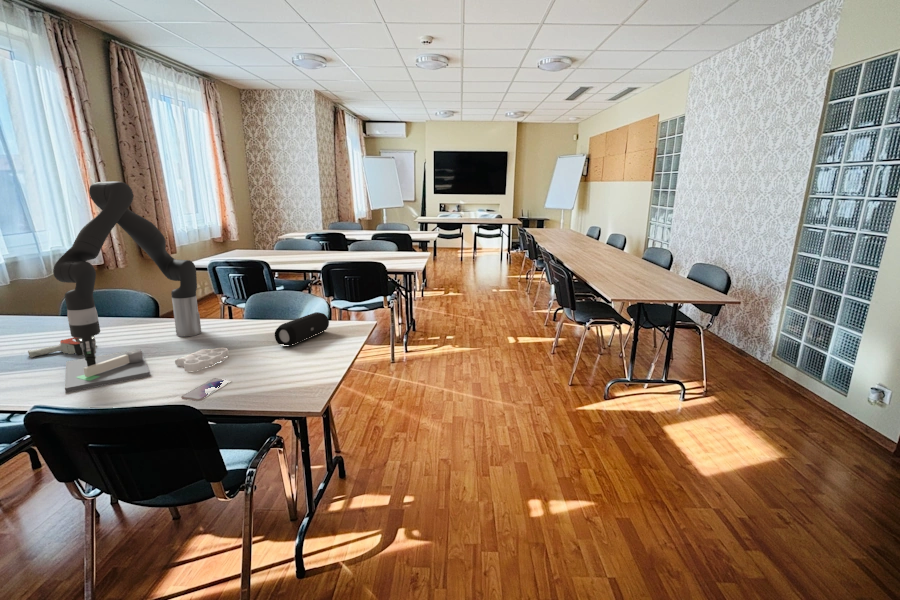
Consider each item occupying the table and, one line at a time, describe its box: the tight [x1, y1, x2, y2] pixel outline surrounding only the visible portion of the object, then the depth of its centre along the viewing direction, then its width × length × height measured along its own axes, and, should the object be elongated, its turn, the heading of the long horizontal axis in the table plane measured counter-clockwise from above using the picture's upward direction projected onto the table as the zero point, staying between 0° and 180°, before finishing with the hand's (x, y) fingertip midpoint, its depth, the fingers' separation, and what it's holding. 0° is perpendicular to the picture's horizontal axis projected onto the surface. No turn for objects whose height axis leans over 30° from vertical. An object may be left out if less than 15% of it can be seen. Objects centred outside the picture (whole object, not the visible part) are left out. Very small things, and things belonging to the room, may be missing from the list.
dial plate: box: [64, 349, 151, 394], centre depth 153 cm, size 22×28×2 cm
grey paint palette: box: [174, 347, 230, 372], centre depth 163 cm, size 3×18×15 cm
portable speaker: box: [274, 312, 330, 345], centre depth 190 cm, size 26×10×10 cm, turn 158°
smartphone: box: [180, 378, 224, 401], centre depth 141 cm, size 7×1×15 cm
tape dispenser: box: [27, 335, 97, 358], centre depth 169 cm, size 18×5×20 cm
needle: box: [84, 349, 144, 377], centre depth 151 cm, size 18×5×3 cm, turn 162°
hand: (92, 369), depth 147 cm, fingers closed
